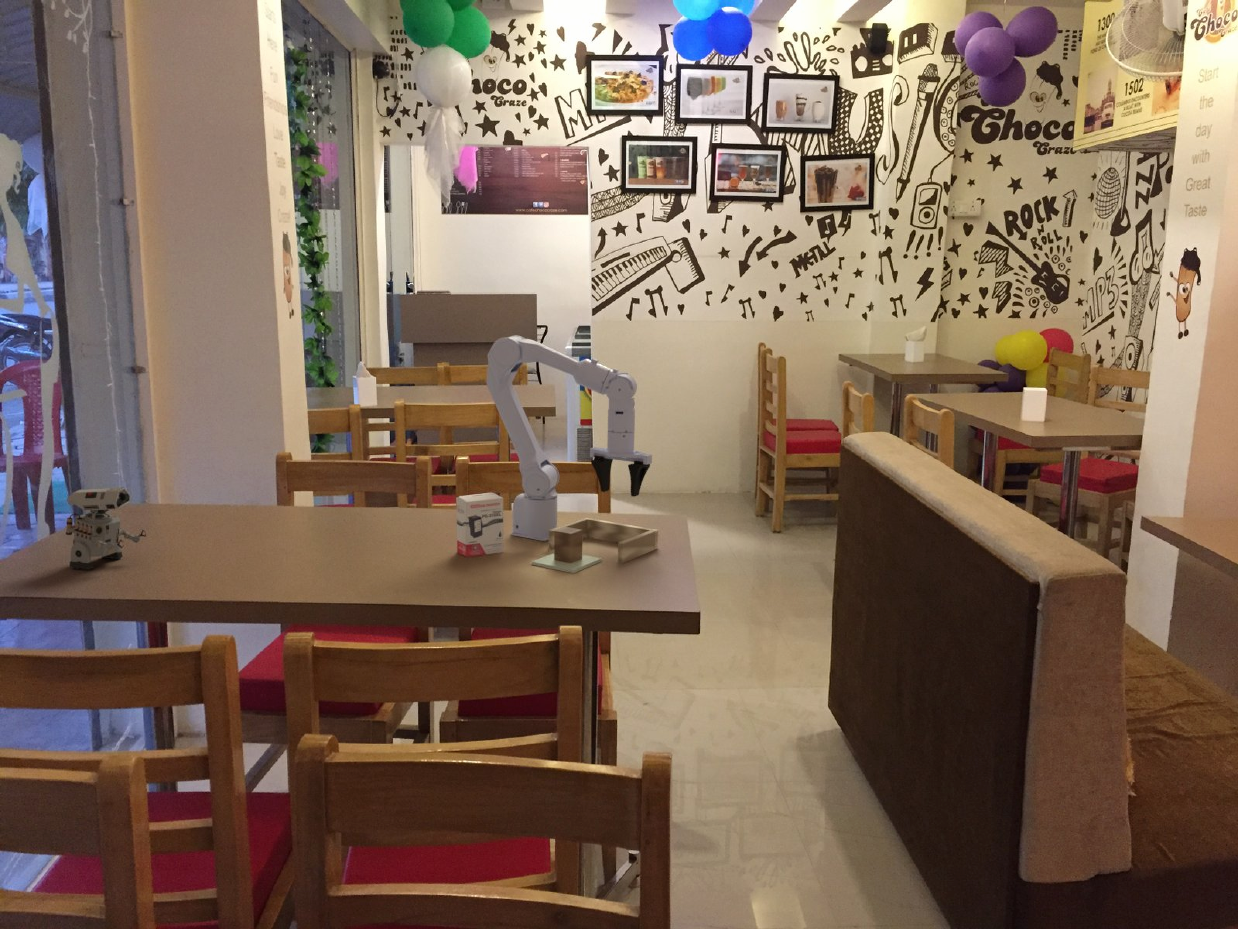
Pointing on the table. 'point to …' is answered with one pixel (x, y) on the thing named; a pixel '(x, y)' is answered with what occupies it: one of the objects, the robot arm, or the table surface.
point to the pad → (567, 567)
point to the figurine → (97, 526)
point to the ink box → (479, 524)
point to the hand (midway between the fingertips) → (619, 493)
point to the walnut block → (568, 545)
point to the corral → (615, 536)
